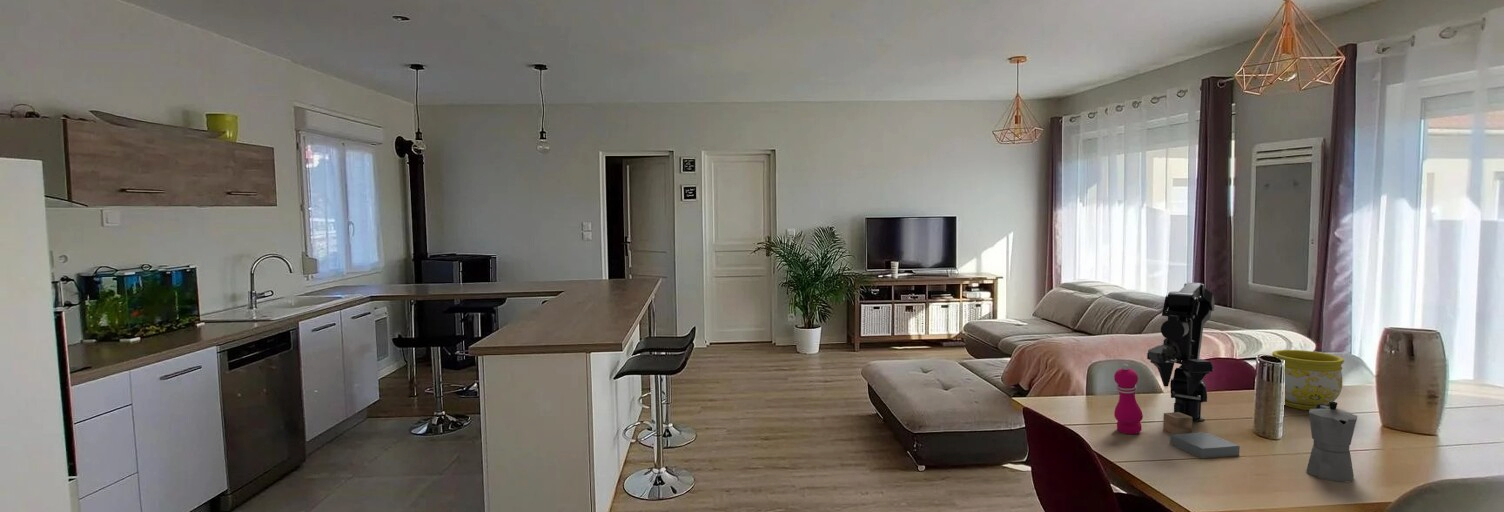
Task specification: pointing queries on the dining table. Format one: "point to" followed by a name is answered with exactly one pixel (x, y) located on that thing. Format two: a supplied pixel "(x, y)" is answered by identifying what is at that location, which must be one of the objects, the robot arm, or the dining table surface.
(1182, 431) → the walnut cube
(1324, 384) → the flowerpot
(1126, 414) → the pepper mill
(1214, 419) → the dining table surface
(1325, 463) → the coffeepot
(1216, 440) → the slate plinth
